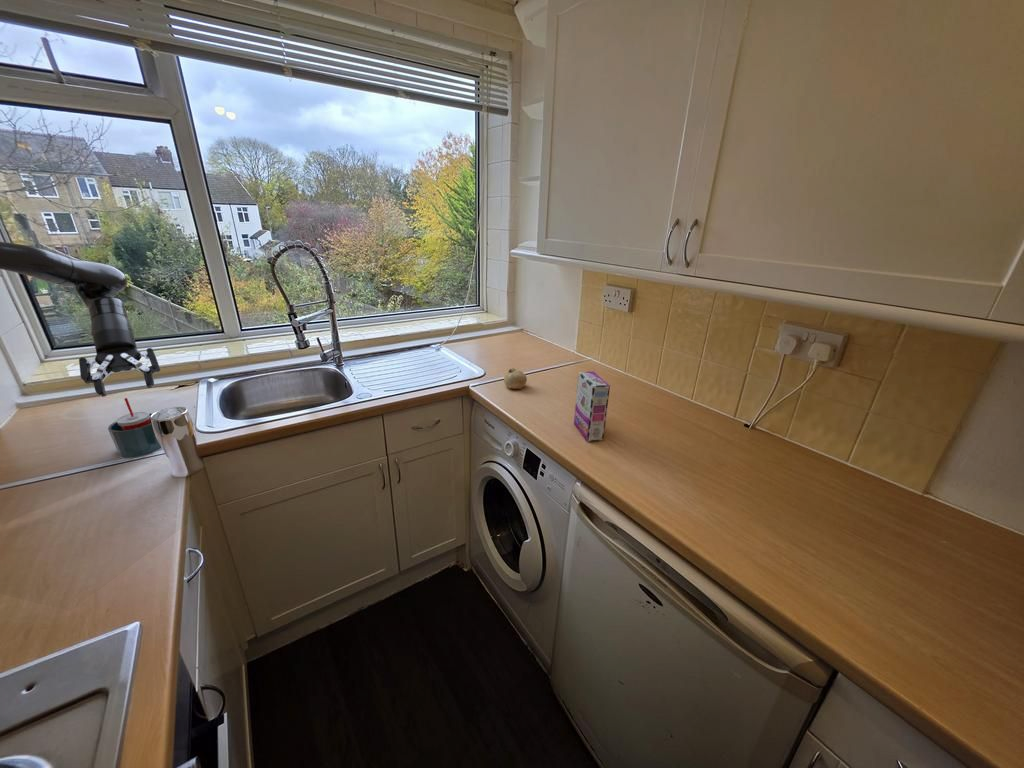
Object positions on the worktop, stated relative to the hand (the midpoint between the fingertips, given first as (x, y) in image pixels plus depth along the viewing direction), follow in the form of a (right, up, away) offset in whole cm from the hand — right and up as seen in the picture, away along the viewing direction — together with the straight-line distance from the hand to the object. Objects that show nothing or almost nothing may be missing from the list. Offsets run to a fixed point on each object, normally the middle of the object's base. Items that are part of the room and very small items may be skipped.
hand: (126, 390), depth 100 cm
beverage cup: (+2, -15, +2) cm, 15 cm away
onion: (+96, 0, +44) cm, 106 cm away
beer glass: (+19, -19, -4) cm, 27 cm away
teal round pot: (+3, -15, +3) cm, 16 cm away
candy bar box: (+117, -12, +15) cm, 118 cm away
